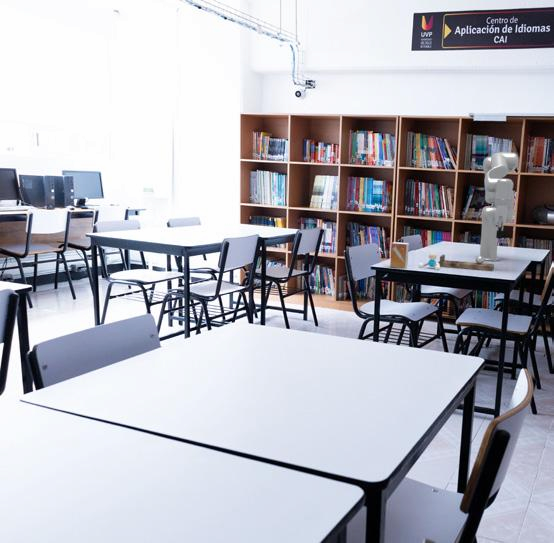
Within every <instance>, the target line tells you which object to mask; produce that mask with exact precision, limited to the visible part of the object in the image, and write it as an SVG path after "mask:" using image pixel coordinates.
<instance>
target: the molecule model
mask: <svg viewBox="0 0 554 543" xmlns="http://www.w3.org/2000/svg"><path fill="white" fill-rule="evenodd" d="M428 258H429V260H428V262H426V263H425V264H424V263H422V262H419V263H418V265H417V266H418V268H420V269H423V268H424V267H426V266H429V267H430V268H434V269H435V271H440V270H441V267H440V264H439V263H438V262H436V259H437V253H435V252H430V253H429V254H428Z"/></svg>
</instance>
